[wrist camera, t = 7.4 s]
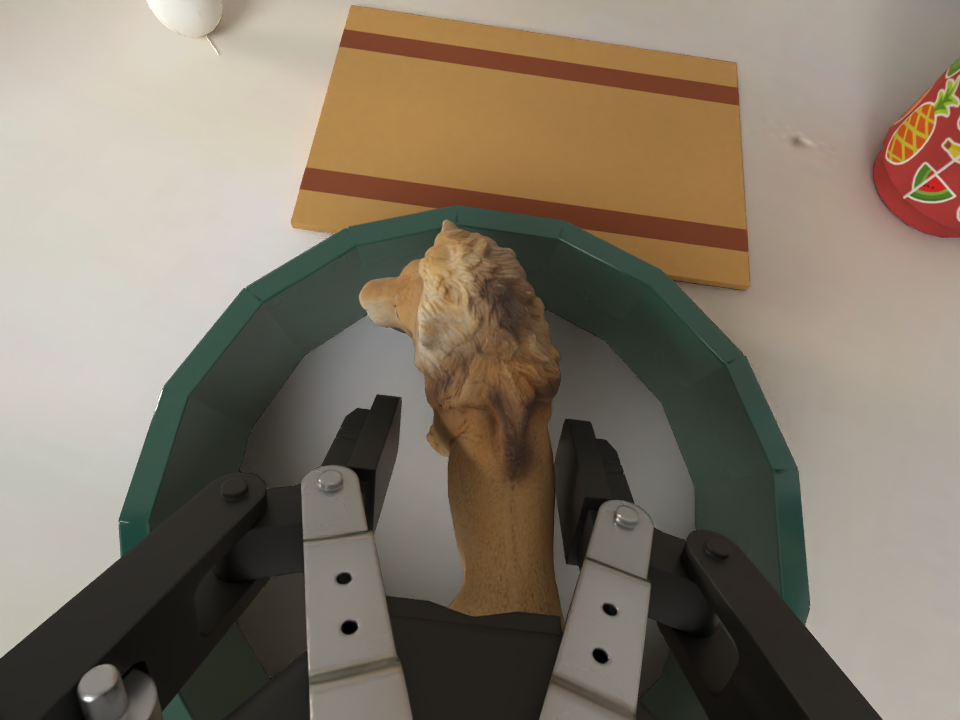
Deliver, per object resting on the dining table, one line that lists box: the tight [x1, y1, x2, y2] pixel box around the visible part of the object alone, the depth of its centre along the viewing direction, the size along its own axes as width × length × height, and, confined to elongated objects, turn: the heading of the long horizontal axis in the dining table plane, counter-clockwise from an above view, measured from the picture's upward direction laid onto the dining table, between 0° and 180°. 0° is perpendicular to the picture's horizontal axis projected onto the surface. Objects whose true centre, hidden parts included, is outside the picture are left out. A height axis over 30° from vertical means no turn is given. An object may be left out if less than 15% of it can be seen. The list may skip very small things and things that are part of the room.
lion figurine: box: [359, 219, 564, 632], centre depth 15 cm, size 15×5×9 cm, turn 12°
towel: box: [291, 5, 750, 290], centre depth 24 cm, size 20×13×1 cm, turn 83°
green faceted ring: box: [119, 205, 810, 720], centre depth 17 cm, size 19×19×5 cm
